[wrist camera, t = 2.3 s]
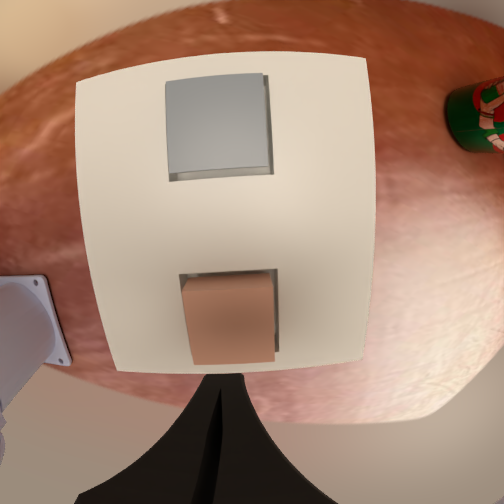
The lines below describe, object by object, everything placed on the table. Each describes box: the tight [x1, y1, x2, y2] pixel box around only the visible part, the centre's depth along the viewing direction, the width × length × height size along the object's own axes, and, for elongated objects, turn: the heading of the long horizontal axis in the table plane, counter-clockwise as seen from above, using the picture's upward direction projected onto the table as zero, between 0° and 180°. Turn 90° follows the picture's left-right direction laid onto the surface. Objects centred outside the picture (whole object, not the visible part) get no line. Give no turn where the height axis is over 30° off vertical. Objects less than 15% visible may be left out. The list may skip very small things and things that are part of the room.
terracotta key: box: [182, 273, 275, 365], centre depth 16 cm, size 4×4×2 cm
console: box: [75, 52, 376, 374], centre depth 16 cm, size 16×18×3 cm
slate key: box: [166, 73, 268, 173], centre depth 13 cm, size 4×4×2 cm
